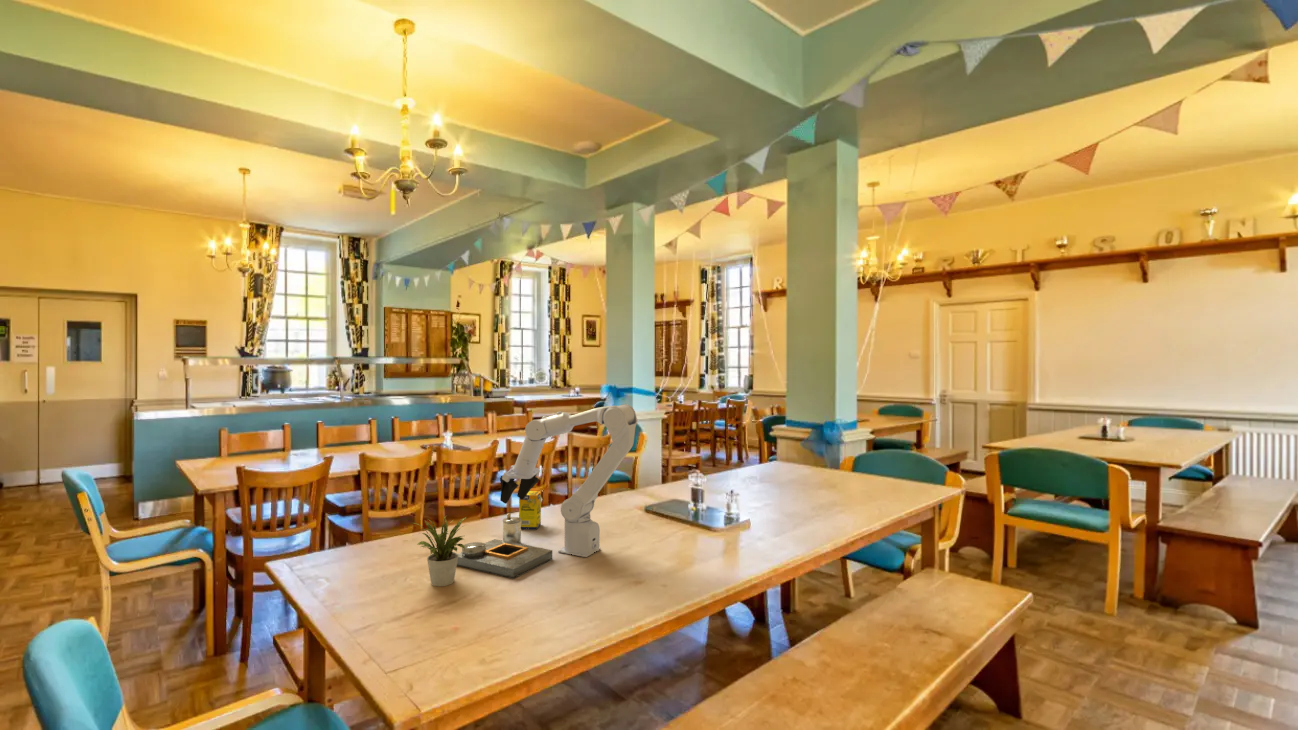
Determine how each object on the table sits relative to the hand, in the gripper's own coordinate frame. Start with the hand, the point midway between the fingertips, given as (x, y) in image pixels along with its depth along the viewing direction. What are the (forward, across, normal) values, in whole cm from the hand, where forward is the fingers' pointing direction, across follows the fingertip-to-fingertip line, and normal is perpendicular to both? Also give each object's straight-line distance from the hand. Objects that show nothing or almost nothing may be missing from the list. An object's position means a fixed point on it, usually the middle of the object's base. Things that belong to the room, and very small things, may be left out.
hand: (512, 499), depth 172 cm
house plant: (+12, +32, +10) cm, 36 cm away
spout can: (+11, 0, +6) cm, 13 cm away
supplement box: (+13, -16, 0) cm, 20 cm away
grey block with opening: (+9, +13, +13) cm, 21 cm away
